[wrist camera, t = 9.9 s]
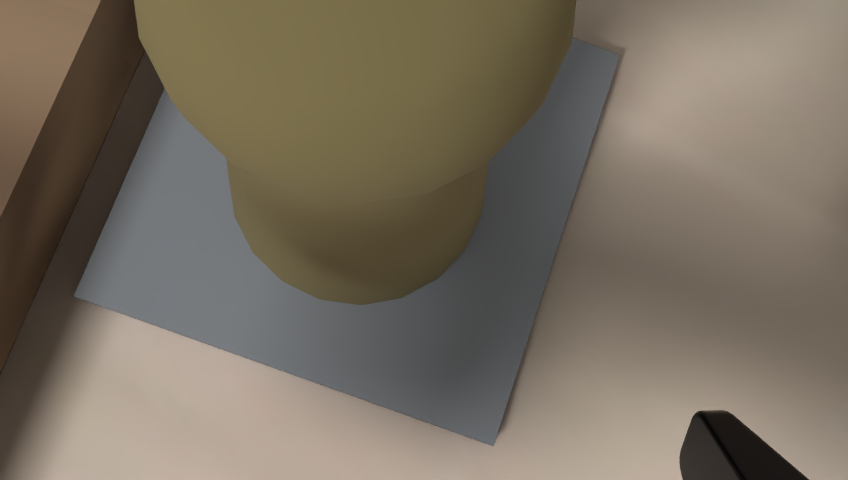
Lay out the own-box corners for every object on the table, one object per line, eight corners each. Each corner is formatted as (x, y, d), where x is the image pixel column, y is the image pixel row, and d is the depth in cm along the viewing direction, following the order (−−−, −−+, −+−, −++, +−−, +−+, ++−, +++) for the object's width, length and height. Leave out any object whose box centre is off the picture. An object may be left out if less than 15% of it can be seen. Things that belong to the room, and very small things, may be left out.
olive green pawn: (276, 23, 19) (168, -441, 8) (515, 98, 19) (718, -259, 8) (192, 260, 18) (-65, 86, 7) (446, 337, 18) (576, 282, 7)
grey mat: (489, 444, 18) (492, 446, 18) (81, 298, 18) (73, 296, 18) (613, 62, 20) (620, 54, 20) (242, -74, 20) (240, -85, 19)
